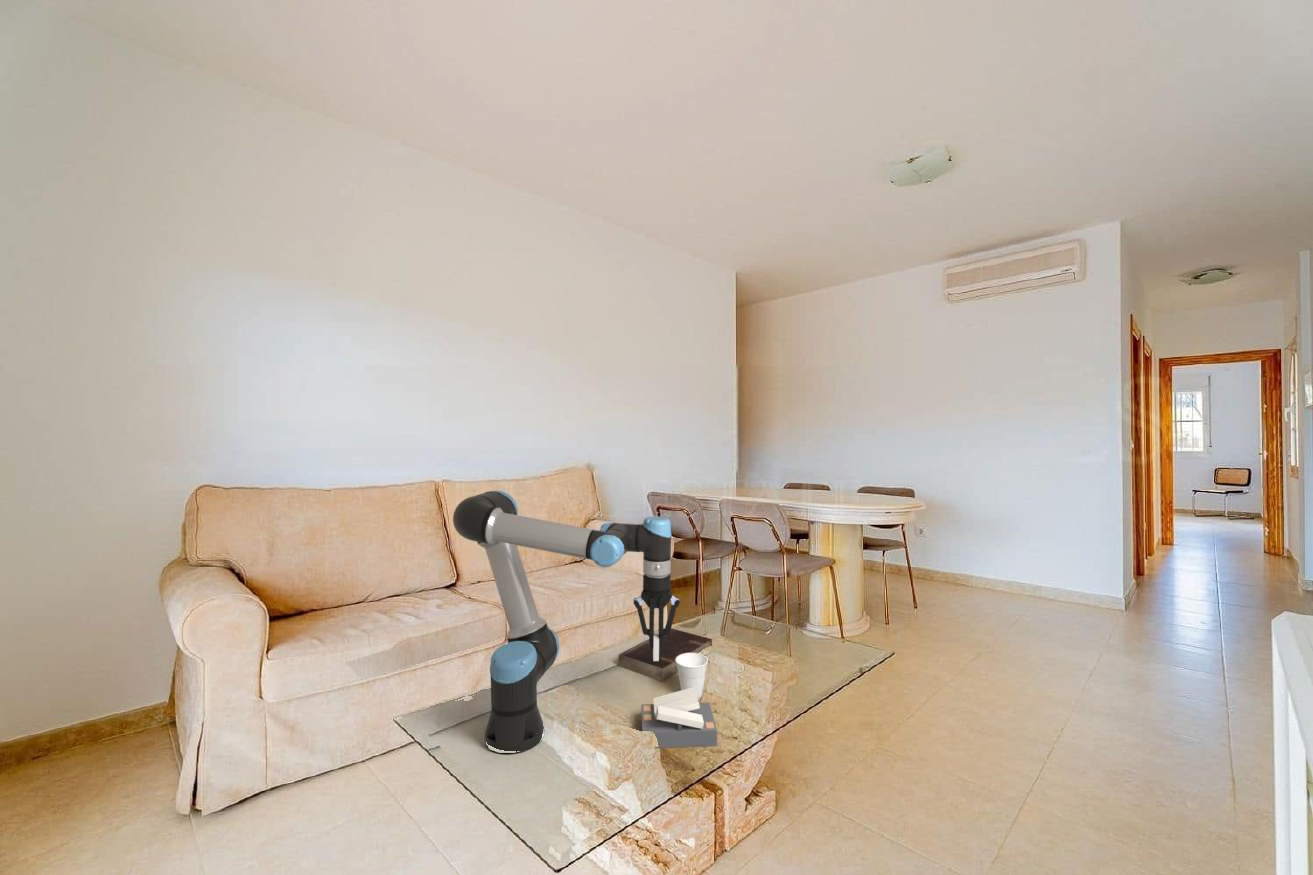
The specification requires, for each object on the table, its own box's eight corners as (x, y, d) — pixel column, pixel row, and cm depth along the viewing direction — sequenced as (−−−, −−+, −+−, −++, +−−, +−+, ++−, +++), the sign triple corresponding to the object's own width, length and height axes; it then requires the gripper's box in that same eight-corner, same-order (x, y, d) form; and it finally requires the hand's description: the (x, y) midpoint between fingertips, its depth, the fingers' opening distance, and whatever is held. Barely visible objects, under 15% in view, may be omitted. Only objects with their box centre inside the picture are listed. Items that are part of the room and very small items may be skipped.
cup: (706, 705, 162) (706, 668, 162) (672, 702, 164) (672, 665, 164) (710, 688, 172) (710, 653, 171) (678, 685, 174) (678, 651, 173)
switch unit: (642, 748, 141) (642, 727, 141) (641, 718, 155) (641, 699, 155) (717, 745, 142) (717, 724, 142) (709, 716, 156) (709, 697, 156)
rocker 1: (655, 710, 151) (653, 705, 151) (654, 703, 155) (653, 698, 155) (697, 698, 151) (696, 693, 151) (696, 692, 155) (694, 686, 155)
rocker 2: (656, 719, 142) (658, 713, 141) (656, 711, 145) (657, 705, 145) (702, 728, 142) (703, 722, 142) (700, 720, 146) (702, 714, 146)
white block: (656, 720, 146) (654, 714, 146) (655, 712, 150) (653, 706, 150) (700, 707, 147) (698, 702, 147) (698, 700, 151) (696, 695, 150)
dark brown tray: (670, 639, 211) (669, 626, 211) (711, 652, 199) (711, 638, 199) (618, 667, 188) (618, 652, 188) (662, 683, 176) (662, 668, 176)
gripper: (633, 578, 148) (632, 665, 149) (681, 578, 149) (680, 664, 150) (632, 570, 156) (632, 653, 157) (679, 570, 156) (678, 652, 157)
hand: (655, 658), depth 153 cm, fingers closed
